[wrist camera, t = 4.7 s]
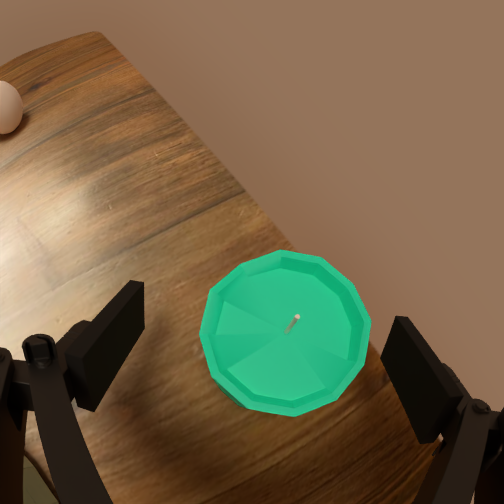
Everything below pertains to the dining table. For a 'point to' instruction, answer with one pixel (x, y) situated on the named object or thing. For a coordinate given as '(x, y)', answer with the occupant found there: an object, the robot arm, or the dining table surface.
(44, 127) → the dining table surface
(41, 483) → the bowl
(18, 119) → the egg
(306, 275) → the candle
